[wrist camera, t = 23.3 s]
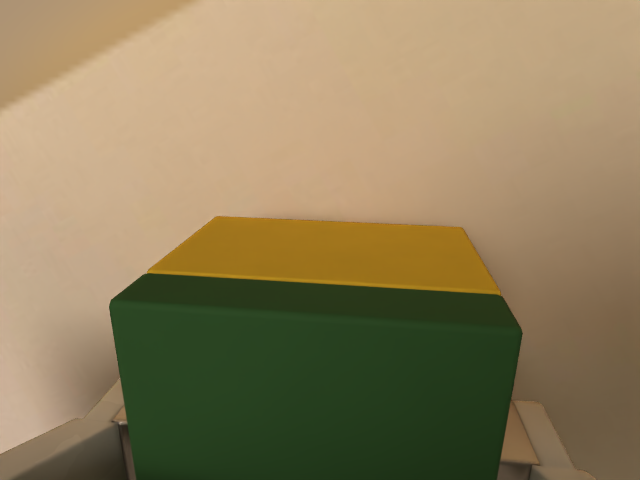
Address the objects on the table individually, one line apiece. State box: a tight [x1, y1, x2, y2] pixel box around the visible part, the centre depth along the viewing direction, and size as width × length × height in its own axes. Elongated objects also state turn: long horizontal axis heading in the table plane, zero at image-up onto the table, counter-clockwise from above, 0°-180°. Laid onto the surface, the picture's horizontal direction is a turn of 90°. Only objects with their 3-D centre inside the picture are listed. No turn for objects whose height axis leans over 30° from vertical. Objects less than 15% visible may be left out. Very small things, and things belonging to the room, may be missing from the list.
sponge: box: [109, 216, 523, 480], centre depth 8 cm, size 8×5×4 cm, turn 179°
